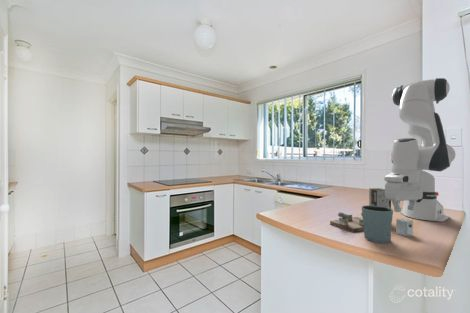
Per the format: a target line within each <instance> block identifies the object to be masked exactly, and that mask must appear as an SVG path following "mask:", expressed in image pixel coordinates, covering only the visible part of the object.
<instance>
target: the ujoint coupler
mask: <svg viewBox="0 0 470 313" xmlns="http://www.w3.org/2000/svg"><path fill="white" fill-rule="evenodd" d="M395 224H396V225H395V226H396V230H395V231H396V232H395V233H396V234H397V235H399V234H400V236H403V237H406V236H407V238H408V236H409V237H412V235H413V236H414V220H411V219H406V218H401V217H400V218H397V219H396V222H395Z"/></svg>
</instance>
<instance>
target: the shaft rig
mask: <svg viewBox="0 0 470 313" xmlns="http://www.w3.org/2000/svg"><path fill="white" fill-rule="evenodd" d="M337 216H338V219H334V220H330V222H329V223H330V224H329V225H332V226H334V227H338V228H340V229H343V230H345V231H349V232H352V233H358V232H362V231H363V232H364V225H363V216H362V212H361V217H359V216H353V214H352V213H350V214H349V213H348V214H347V213H343V212H341V211H339V212H338V215H337Z"/></svg>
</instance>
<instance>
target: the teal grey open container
mask: <svg viewBox="0 0 470 313" xmlns="http://www.w3.org/2000/svg"><path fill="white" fill-rule="evenodd" d="M361 213H362V215H361V217H362V216H363V225H364V230H363V237H364V238H365V239H366V240H367V239H368V241H370V242H374V243H378V244H389V243H390V242H391V239H392V227H393V226H392V223H393V215H394V209H393V208H391V209H390V208H387V207H382V206H371V205H369V204H368V205H362V206H361Z"/></svg>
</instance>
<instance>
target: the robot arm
mask: <svg viewBox="0 0 470 313" xmlns="http://www.w3.org/2000/svg"><path fill="white" fill-rule="evenodd" d="M449 93H450V84H449V81H448V80H447V79H446V78H443V77H442V78H441V77H440V78H437V77H436V78H435V79H433V78H432V79H427V80H418V81H416V82H412V83H407V84H404V85H403V84H402V85H398V86H397V87H395V88H394V89H393V91H392V94H391V100H392V103H393V104H394V105H395V106H398V114H399V118H400V120H401V121H402V122H403V123H405V124H407V133H408V135H410V136H411V137H406V138H398V139H396V140H394V141H393V145H392V151H391V163H392V167H391V172H390V173H388V174H386V175H385V176H384V179H383V180H384V181H385V184H384V189H385V197H386V199H387V200H389V201H391V204H392V205H393V208H394V209H393V212H395V213H400V214H403V216H405V217H409V218H412V219H415V220H422V221H423V220H424V221H433V222H442V223H443V222H445V221H447V220H449V218H450V215H448V214H444V206H443V205H442V203H441V202H440V201H439V200H438V196H439V195H440V194H439V192H438V191H436V190H435V188H436V187H435V186H436V185H435V184H436V181H435V180H436V178H435V177H434V175H433V174H432V173H430V172H428V171H431V172H442V171H445V170H446V169H448V168H450V167H451V164H452V162H453V161H454V160H455V159H456V151H455V149H454V148H453V147H452V146H451V145H449V144H448V143H447V141H446V140H447V139H446V136H445V132H444V131H445V130H444V126H443V124H442V120H441V119H442V118H441V116H440V115H439V113H437V112H436V109H435V104H434V102H435V103H436V104H439V103H440V102H441V101H443V100H444V99H445V98H447V97H448V94H449ZM412 137H413V138H412ZM417 139H418V140H421V142H422V143H421V144H419V142H418V140H417ZM401 202H403V206H402V207H401V205H400V204H401Z"/></svg>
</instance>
